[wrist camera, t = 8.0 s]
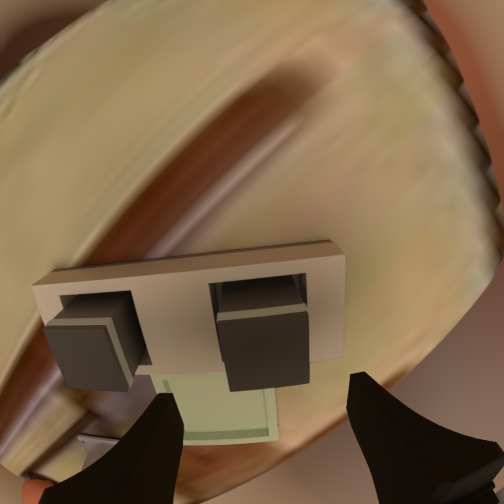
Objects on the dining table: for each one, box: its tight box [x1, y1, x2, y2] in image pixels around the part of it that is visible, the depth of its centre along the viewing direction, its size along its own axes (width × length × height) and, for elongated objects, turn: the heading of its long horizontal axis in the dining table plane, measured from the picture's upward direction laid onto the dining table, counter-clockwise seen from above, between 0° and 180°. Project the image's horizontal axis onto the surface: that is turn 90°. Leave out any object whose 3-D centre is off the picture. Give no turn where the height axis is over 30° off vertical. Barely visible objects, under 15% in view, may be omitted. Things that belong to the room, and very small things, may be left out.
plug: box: [217, 275, 310, 392], centre depth 17 cm, size 4×4×6 cm
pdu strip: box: [32, 240, 346, 375], centre depth 19 cm, size 7×20×3 cm, turn 96°
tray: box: [150, 372, 279, 445], centre depth 22 cm, size 9×9×2 cm
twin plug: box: [43, 290, 147, 392], centre depth 17 cm, size 4×4×6 cm
